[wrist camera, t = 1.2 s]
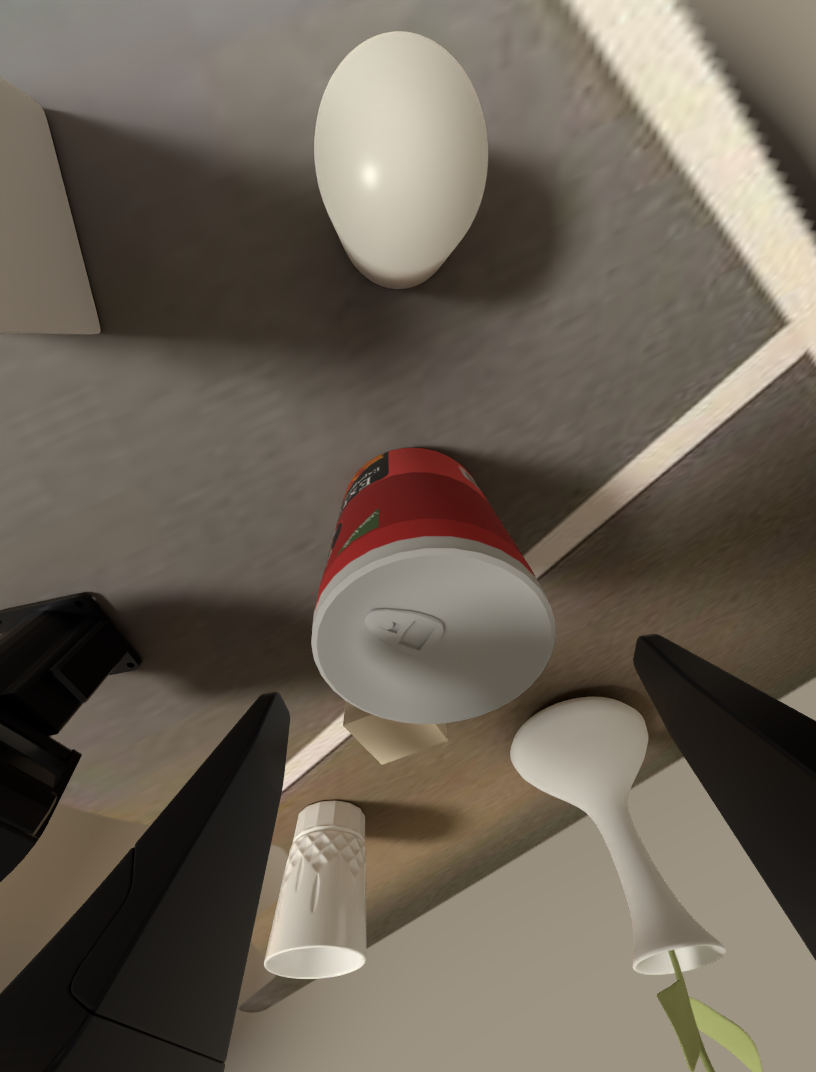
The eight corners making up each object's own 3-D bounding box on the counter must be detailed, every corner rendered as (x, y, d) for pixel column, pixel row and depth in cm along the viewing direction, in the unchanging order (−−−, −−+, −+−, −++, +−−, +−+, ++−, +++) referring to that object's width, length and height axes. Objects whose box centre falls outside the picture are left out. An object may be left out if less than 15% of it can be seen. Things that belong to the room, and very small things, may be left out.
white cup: (318, 787, 35) (295, 940, 26) (385, 809, 37) (385, 955, 28) (278, 823, 37) (245, 972, 29) (343, 841, 40) (331, 983, 31)
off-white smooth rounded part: (354, 301, 16) (343, 288, 12) (318, 148, 14) (287, 60, 9) (465, 274, 16) (495, 250, 12) (447, 113, 14) (478, 5, 9)
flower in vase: (645, 736, 34) (1137, 1490, 12) (529, 776, 36) (760, 1475, 14) (612, 649, 28) (1468, 1825, 6) (476, 703, 30) (727, 1707, 8)
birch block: (382, 700, 29) (382, 764, 25) (349, 662, 27) (343, 725, 23) (438, 678, 28) (448, 741, 24) (409, 637, 26) (414, 697, 22)
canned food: (355, 427, 19) (325, 522, 9) (499, 460, 20) (605, 574, 10) (334, 552, 22) (296, 715, 13) (458, 573, 24) (509, 736, 14)
